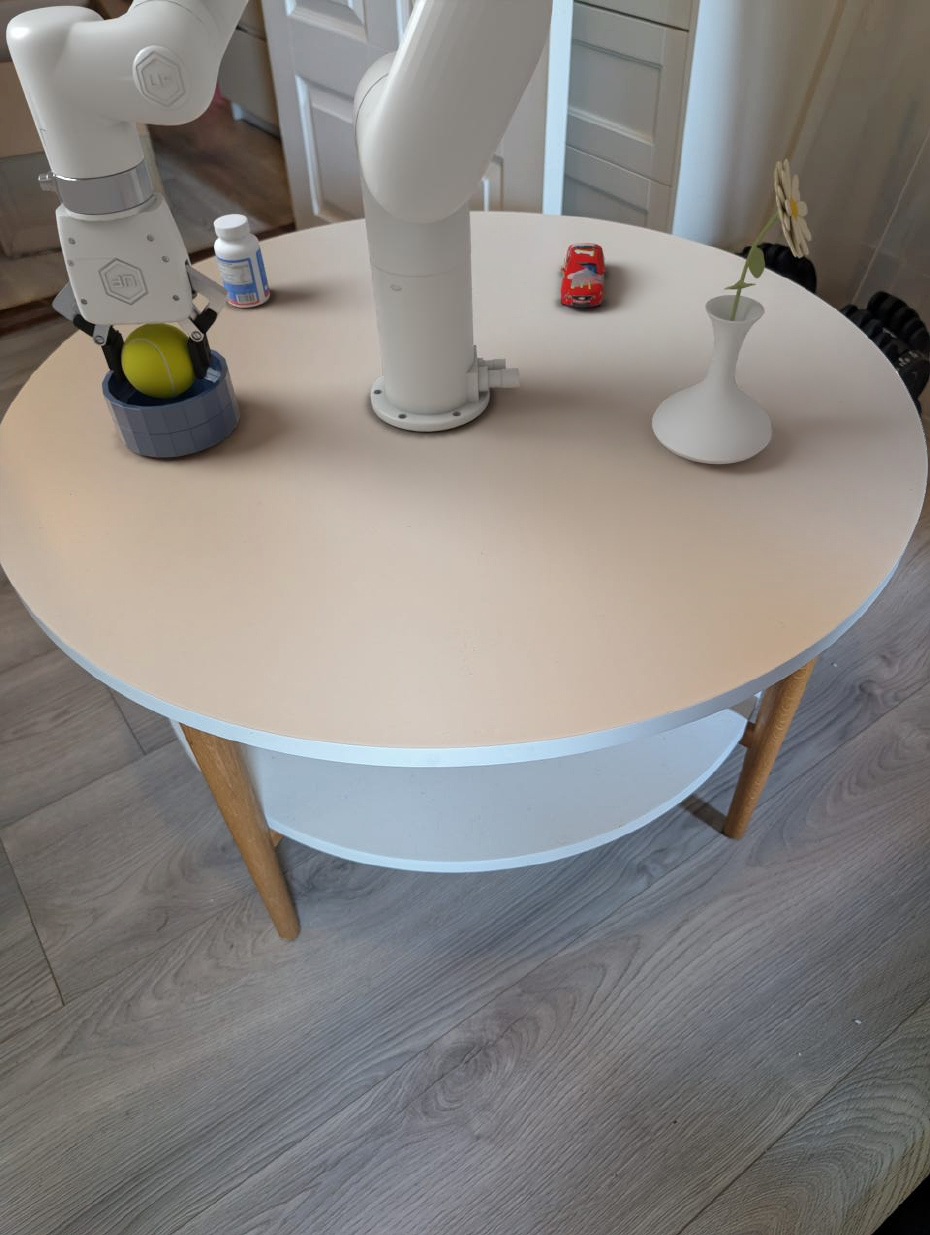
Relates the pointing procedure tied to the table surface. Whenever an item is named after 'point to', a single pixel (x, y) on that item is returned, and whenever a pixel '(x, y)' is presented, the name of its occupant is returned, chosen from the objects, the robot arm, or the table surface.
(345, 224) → the table surface
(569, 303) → the race car
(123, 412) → the blue round bowl
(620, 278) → the table surface
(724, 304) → the flower in vase
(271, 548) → the table surface
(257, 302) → the pill bottle
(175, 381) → the tennis ball
